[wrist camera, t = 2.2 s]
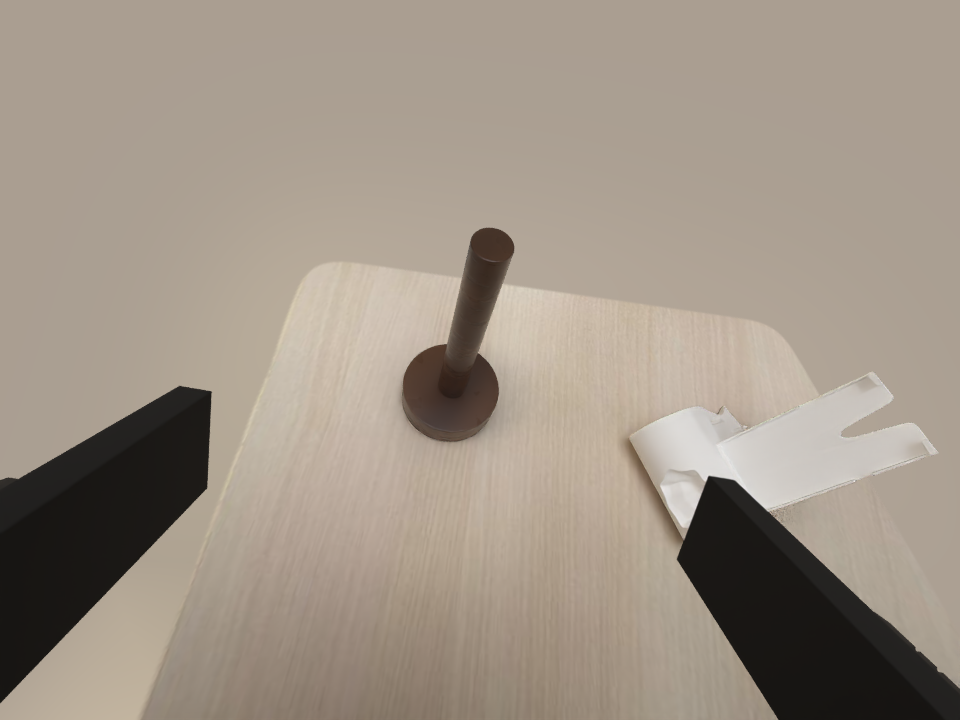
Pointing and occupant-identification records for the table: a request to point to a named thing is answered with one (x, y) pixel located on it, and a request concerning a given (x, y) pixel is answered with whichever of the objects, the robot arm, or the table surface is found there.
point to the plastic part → (775, 450)
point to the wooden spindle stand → (461, 351)
